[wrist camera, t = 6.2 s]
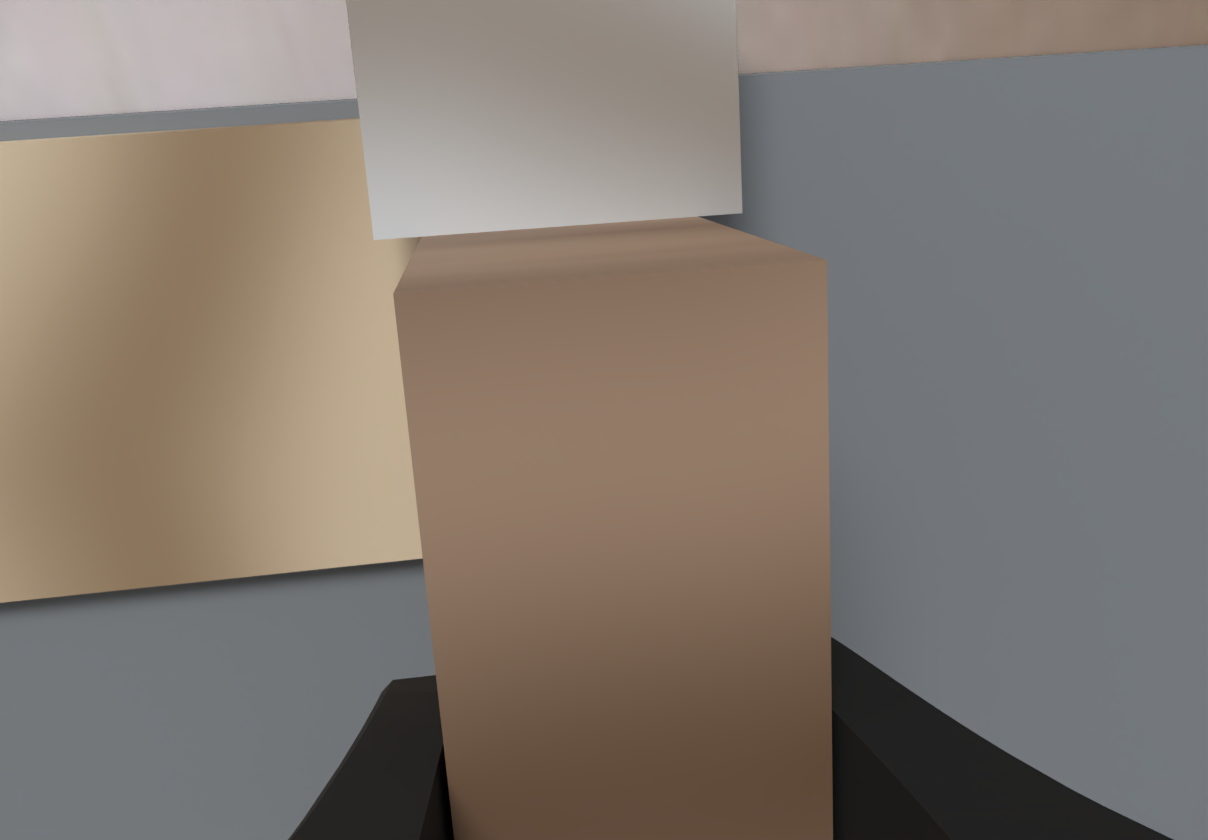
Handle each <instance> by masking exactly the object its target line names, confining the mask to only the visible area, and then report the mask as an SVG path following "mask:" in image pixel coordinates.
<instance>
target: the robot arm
mask: <svg viewBox="0 0 1208 840" xmlns="http://www.w3.org/2000/svg"><path fill="white" fill-rule="evenodd" d="M831 690H832V785H833V840H1174V839H1171V838H1169V837H1167V836H1165V835H1163V834H1161V833H1159V832H1157V831H1155V830H1153V829H1151V828H1148V827H1146V826H1144V825H1142V824H1140V823H1138V822H1136V821H1134V820H1132V819H1130V818H1128V817H1126V816H1123V815H1121V814H1119V813H1117V812H1115V811H1113V810H1111V809H1109V808H1107V807H1105V806H1103V805H1101V804H1099V803H1097V802H1095V801H1093V800H1091V799H1089V798H1087V797H1085V796H1084V795H1082V794H1080V793H1078V792H1076V791H1074V790H1072V789H1070V788H1068V787H1067V786H1065V785H1063V784H1061V783H1060V782H1058V781H1056V780H1054V779H1053V778H1051V777H1049V776H1047V775H1046V774H1044V773H1042V772H1040V771H1039V770H1037V769H1035V768H1033V767H1032V766H1030V765H1028V764H1026V763H1025V762H1023V761H1021V760H1019V759H1018V758H1016V757H1014V756H1012V755H1011V754H1009V753H1007V752H1006V751H1004V750H1002V749H1001V748H999V747H997V746H996V745H994V744H992V743H991V742H989V741H988V740H986V739H984V738H983V737H981V736H979V735H978V734H976V733H975V732H973V731H971V730H970V729H968V728H967V727H965V726H964V725H962V724H960V723H959V722H957V721H956V720H954V719H953V718H951V717H950V716H948V715H947V714H945V713H944V712H942V711H940V710H939V709H937V708H936V707H934V706H933V705H931V704H930V703H928V702H927V701H925V700H924V699H922V698H921V697H919V696H918V695H916V694H915V693H913V692H912V691H911V690H909V689H908V688H906V687H905V686H903V685H902V684H900V683H899V682H897V681H896V680H894V679H893V678H892V677H890V676H889V675H887V674H886V673H884V672H883V671H881V670H880V669H878V668H877V667H876V666H874V665H873V664H871V663H870V662H868V661H867V660H865V659H864V658H863V657H861V656H860V655H858V654H857V653H855V652H854V651H852V650H851V649H849V648H848V647H846V646H845V645H843V644H842V643H840V642H839V641H837V640H836V639H834V638H832V637H831ZM288 840H454V833H453V824H452V816H451V807H450V798H449V789H448V780H447V771H446V762H445V753H444V744H443V735H442V726H441V717H440V708H439V699H438V690H437V681H436V675H432V676H423V677H414V678H405V679H396V680H392V681H391V682H390V683H389V684H388V686H387V687H386V688H385V689H384V690H383V691H382V692H381V694H380V696H379V698H378V700H377V702H376V704H375V706H374V708H373V709H372V711H371V713H370V715H369V717H368V718H367V720H366V722H365V724H364V725H363V727H362V729H361V731H360V732H359V734H358V736H357V737H356V739H355V741H354V742H353V744H352V746H351V747H350V749H349V750H348V752H347V754H346V755H345V757H344V759H343V760H342V762H341V763H340V765H339V767H338V768H337V770H336V771H335V773H334V774H333V776H332V777H331V779H330V780H329V782H328V783H327V785H326V786H325V788H324V789H323V790H322V792H321V793H320V795H319V796H318V798H317V799H316V801H315V802H314V804H313V805H312V807H311V808H310V810H309V811H308V813H307V814H306V816H305V817H304V819H303V820H302V821H301V823H300V824H299V826H298V827H297V828H296V830H295V831H294V832H293V834H292V835H291V836H290V838H289V839H288Z"/></svg>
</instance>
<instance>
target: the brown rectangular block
mask: <svg viewBox="0 0 1208 840" xmlns="http://www.w3.org/2000/svg"><path fill="white" fill-rule="evenodd" d="M346 3H347V12H348V21H349V30H350V38H351V47H352V56H353V64H354V73H355V82H356V90H357V99H358V108H359V117H360V125H361V134H362V143H363V151H364V160H365V169H366V177H367V186H368V195H369V204H370V212H371V221H372V230H373V238H374V240H382V239H396V238H409V237H421V238H420V240H419V242H418V244H417V246H416V248H415V250H414V252H413V254H412V256H411V258H410V260H409V263H408V265H407V267H406V269H405V271H404V273H403V275H402V277H401V279H400V281H399V283H398V285H397V287H396V289H395V291H394V293H393V297H394V306H395V315H396V324H397V333H398V342H399V351H400V360H401V369H402V378H403V386H404V395H405V404H406V413H407V422H408V431H409V440H410V449H411V458H412V467H413V476H414V485H415V494H416V503H417V512H418V521H419V529H420V538H421V547H422V556H423V565H424V574H425V583H426V592H427V601H428V610H429V619H430V628H431V637H432V646H433V655H434V664H435V672H436V681H437V690H438V699H439V708H440V717H441V726H442V735H443V744H444V753H445V762H446V771H447V780H448V789H449V798H450V807H451V816H452V824H453V833H454V840H833V785H832V690H831V595H830V500H829V405H828V310H827V260H825V259H822V258H819V257H816V256H813V255H810V254H807V253H805V252H802V251H799V250H796V249H793V248H790V247H787V246H784V245H781V244H778V243H775V242H772V241H769V240H766V239H763V238H760V237H757V236H754V235H751V234H748V233H745V232H742V231H739V230H736V229H733V228H730V227H727V226H725V225H722V224H719V223H716V222H713V221H710V220H707V219H704V218H701V217H698V216H711V215H724V214H738V213H742V181H741V147H740V114H739V80H738V47H737V13H736V0H346Z"/></svg>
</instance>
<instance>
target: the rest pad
mask: <svg viewBox="0 0 1208 840" xmlns="http://www.w3.org/2000/svg"><path fill="white" fill-rule="evenodd" d="M420 238H421V237H409V238H396V239H382V240H374V238H373V230H372V221H371V212H370V204H369V195H368V186H367V177H366V169H365V160H364V151H363V143H362V134H361V125H360V118H353V119H338V120H322V121H307V122H292V123H276V124H261V125H246V126H230V127H215V128H200V129H184V130H169V131H154V132H139V133H123V134H108V135H93V136H77V137H62V138H47V139H31V140H16V141H1V142H0V603H4V602H13V601H23V600H32V599H42V598H51V597H61V596H70V595H80V594H89V593H99V592H108V591H118V590H127V589H137V588H146V587H156V586H165V585H175V584H184V583H194V582H203V581H213V580H222V579H232V578H241V577H251V576H261V575H270V574H280V573H289V572H299V571H308V570H318V569H327V568H337V567H346V566H356V565H365V564H375V563H384V562H394V561H403V560H413V559H422V558H423V556H422V547H421V538H420V529H419V521H418V512H417V503H416V494H415V485H414V476H413V467H412V458H411V449H410V440H409V431H408V422H407V413H406V404H405V395H404V386H403V378H402V369H401V360H400V351H399V342H398V333H397V324H396V315H395V306H394V297H393V293H394V291H395V289H396V287H397V285H398V283H399V281H400V279H401V277H402V275H403V273H404V271H405V269H406V267H407V265H408V263H409V260H410V258H411V256H412V254H413V252H414V250H415V248H416V246H417V244H418V242H419V240H420Z"/></svg>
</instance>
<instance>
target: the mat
mask: <svg viewBox="0 0 1208 840" xmlns="http://www.w3.org/2000/svg"><path fill="white" fill-rule="evenodd" d="M738 80H739V114H740V147H741V181H742V213H738V214H724V215H711V216H698V217H701V218H704V219H707V220H710V221H713V222H716V223H719V224H722V225H725V226H727V227H730V228H733V229H736V230H739V231H742V232H745V233H748V234H751V235H754V236H757V237H760V238H763V239H766V240H769V241H772V242H775V243H778V244H781V245H784V246H787V247H790V248H793V249H796V250H799V251H802V252H805V253H807V254H810V255H813V256H816V257H819V258H822V259H825V260H827V310H828V405H829V500H830V595H831V637H832V638H834V639H836V640H837V641H839V642H840V643H842V644H843V645H845V646H846V647H848V648H849V649H851V650H852V651H854V652H855V653H857V654H858V655H860V656H861V657H863V658H864V659H865V660H867V661H868V662H870V663H871V664H873V665H874V666H876V667H877V668H878V669H880V670H881V671H883V672H884V673H886V674H887V675H889V676H890V677H892V678H893V679H894V680H896V681H897V682H899V683H900V684H902V685H903V686H905V687H906V688H908V689H909V690H911V691H912V692H913V693H915V694H916V695H918V696H919V697H921V698H922V699H924V700H925V701H927V702H928V703H930V704H931V705H933V706H934V707H936V708H937V709H939V710H940V711H942V712H944V713H945V714H947V715H948V716H950V717H951V718H953V719H954V720H956V721H957V722H959V723H960V724H962V725H964V726H965V727H967V728H968V729H970V730H971V731H973V732H975V733H976V734H978V735H979V736H981V737H983V738H984V739H986V740H988V741H989V742H991V743H992V744H994V745H996V746H997V747H999V748H1001V749H1002V750H1004V751H1006V752H1007V753H1009V754H1011V755H1012V756H1014V757H1016V758H1018V759H1019V760H1021V761H1023V762H1025V763H1026V764H1028V765H1030V766H1032V767H1033V768H1035V769H1037V770H1039V771H1040V772H1042V773H1044V774H1046V775H1047V776H1049V777H1051V778H1053V779H1054V780H1056V781H1058V782H1060V783H1061V784H1063V785H1065V786H1067V787H1068V788H1070V789H1072V790H1074V791H1076V792H1078V793H1080V794H1082V795H1084V796H1085V797H1087V798H1089V799H1091V800H1093V801H1095V802H1097V803H1099V804H1101V805H1103V806H1105V807H1107V808H1109V809H1111V810H1113V811H1115V812H1117V813H1119V814H1121V815H1123V816H1126V817H1128V818H1130V819H1132V820H1134V821H1136V822H1138V823H1140V824H1142V825H1144V826H1146V827H1148V828H1151V829H1153V830H1155V831H1157V832H1159V833H1161V834H1163V835H1165V836H1167V837H1169V838H1171V839H1174V840H1208V45H1193V46H1177V47H1161V48H1146V49H1130V50H1114V51H1098V52H1083V53H1067V54H1051V55H1035V56H1020V57H1004V58H988V59H973V60H957V61H941V62H925V63H910V64H894V65H878V66H862V67H847V68H831V69H815V70H799V71H784V72H768V73H752V74H738ZM353 118H360V117H359V108H358V99H343V100H327V101H312V102H296V103H280V104H265V105H249V106H233V107H217V108H202V109H186V110H170V111H154V112H139V113H123V114H107V115H91V116H76V117H60V118H44V119H29V120H13V121H0V142H1V141H16V140H31V139H47V138H62V137H77V136H93V135H108V134H123V133H139V132H154V131H169V130H184V129H200V128H215V127H230V126H246V125H261V124H276V123H292V122H307V121H322V120H338V119H353ZM432 675H436V672H435V664H434V655H433V646H432V637H431V628H430V619H429V610H428V601H427V592H426V583H425V574H424V565H423V558H422V559H413V560H403V561H394V562H384V563H375V564H365V565H356V566H346V567H337V568H327V569H318V570H308V571H299V572H289V573H280V574H270V575H261V576H251V577H241V578H232V579H222V580H213V581H203V582H194V583H184V584H175V585H165V586H156V587H146V588H137V589H127V590H118V591H108V592H99V593H89V594H80V595H70V596H61V597H51V598H42V599H32V600H23V601H13V602H4V603H0V840H288V839H289V838H290V836H291V835H292V834H293V832H294V831H295V830H296V828H297V827H298V826H299V824H300V823H301V821H302V820H303V819H304V817H305V816H306V814H307V813H308V811H309V810H310V808H311V807H312V805H313V804H314V802H315V801H316V799H317V798H318V796H319V795H320V793H321V792H322V790H323V789H324V788H325V786H326V785H327V783H328V782H329V780H330V779H331V777H332V776H333V774H334V773H335V771H336V770H337V768H338V767H339V765H340V763H341V762H342V760H343V759H344V757H345V755H346V754H347V752H348V750H349V749H350V747H351V746H352V744H353V742H354V741H355V739H356V737H357V736H358V734H359V732H360V731H361V729H362V727H363V725H364V724H365V722H366V720H367V718H368V717H369V715H370V713H371V711H372V709H373V708H374V706H375V704H376V702H377V700H378V698H379V696H380V694H381V692H382V691H383V690H384V689H385V688H386V687H387V686H388V684H389V683H390V682H391V681H392V680H396V679H405V678H414V677H423V676H432Z"/></svg>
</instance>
